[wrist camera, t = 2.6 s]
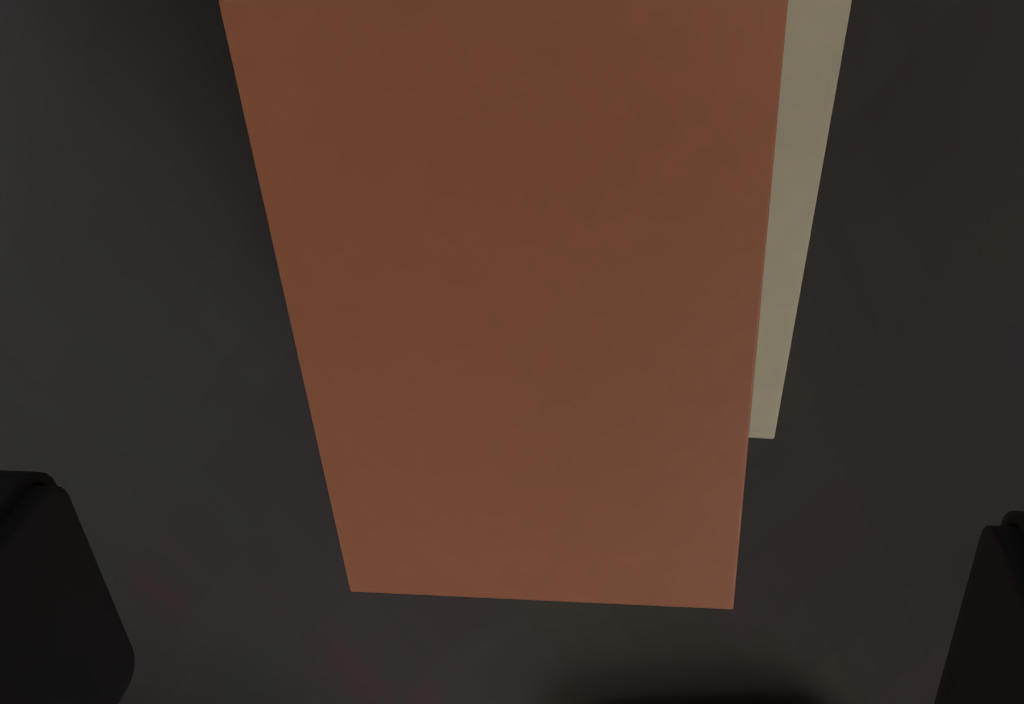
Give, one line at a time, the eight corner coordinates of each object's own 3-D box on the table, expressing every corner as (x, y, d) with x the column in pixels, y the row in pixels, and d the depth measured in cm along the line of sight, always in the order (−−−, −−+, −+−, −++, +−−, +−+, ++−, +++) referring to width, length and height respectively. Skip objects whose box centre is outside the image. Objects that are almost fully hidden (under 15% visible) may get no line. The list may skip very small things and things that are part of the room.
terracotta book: (312, -57, 14) (217, 0, 11) (756, -80, 13) (790, -25, 10) (397, 455, 20) (350, 592, 16) (718, 463, 19) (733, 610, 16)
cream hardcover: (310, -263, 19) (260, -265, 17) (865, -273, 18) (901, -275, 15) (377, 351, 27) (350, 412, 25) (762, 372, 26) (774, 439, 24)
